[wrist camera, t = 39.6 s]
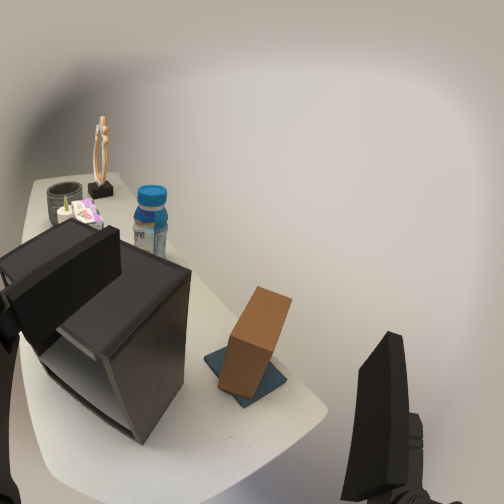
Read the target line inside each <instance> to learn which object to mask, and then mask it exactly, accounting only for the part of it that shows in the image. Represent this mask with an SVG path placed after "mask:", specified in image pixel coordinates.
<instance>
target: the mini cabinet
mask: <svg viewBox="0 0 504 504" xmlns="http://www.w3.org/2000/svg"><path fill="white" fill-rule="evenodd" d="M98 231H100V230H98V229H96V228H94V227H92V226H90V225H87V224H85V223H83V222H81V221H79V220H77V219H75V218H73V217H71V218H69V219H67V220H65V221H63V222H61V223H60V224H58V225H56V226H54V227H52V228H50V229H48V230H46V231H45V232H43V233H41V234H39V235H38V236H36V237H34V238H32V239H31V240H29V241H27V242H25V243H24V244H22V245H20V246H19V247H17V248H15V249H14V250H12V251H11V252H9V253H7V254H6V255H4V256H3V257H1V258H0V274H1V277H2V280H3V282H4V285H5V288H6V287H7V286H9V285H10V284H12V283H13V282H14V281H16V280H17V279H19V278H20V277H21V276H23V275H26V273H27V272H29V271H30V270H31V271H32V269H33V268H35V267H36V266H38V265H39V264H41V263H44V262H46V261H49V260H52V259H53V258H55V257H56V256H58V255H60V254H61V253H63V252H64V251H66V250H68V249H69V248H71V247H72V246H74V245H76V244H77V243H79V242H81V241H82V240H84V239H86V238H87V237H89V236H91V235H93V234H94V233H96V232H98ZM120 253H121V268H122V275H120V276H119V277H118V278H116V279H115V280H114V281H113V282H111V283H110V284H109V285H108V286H107V287H105V288H104V289H103V290H102V291H100V292H99V293H98V294H97V295H96V296H94V297H93V298H92V299H91V300H89V301H88V302H87V303H86V304H85V305H84V306H82V307H81V308H80V309H79V310H78V311H76V312H75V313H74V314H73V315H72V316H71V317H69V318H68V319H67V320H66V321H65V322H64V323H63V324H61V325H60V326H59V327H58V328H57V329H56V330H55V331H54V332H53V333H51V334H50V335H49V336H48V337H47V338H46V339H45V340H44V341H43V342H42V343H40V344H39V345H38V346H37V347H36V348H35V349H34V348H33V347H32V348H33V350H34V352H35V354H36V355H37V357H38V359H39V361H40V362H41V364H42V366H43V368H44V369H45V371H46V373H47V374H48V375H49V376H50V377H51V378H52V379H53V380H54V381H55V382H56V383H58V384H59V385H60V386H61V387H62V388H63V389H64V390H66V391H67V392H68V393H69V394H70V395H71V396H73V397H74V398H75V399H76V400H77V401H79V402H80V403H81V404H82V405H84V406H85V407H86V408H88V409H89V410H90V411H91V412H93V413H94V414H95V415H97V416H98V417H100V418H101V419H102V420H104V421H105V422H107V423H108V424H109V425H111V426H112V427H114V428H115V429H117V430H118V431H120V432H121V433H123V434H125V435H126V436H128V437H129V438H131V439H133V440H134V441H136V442H137V443H139V444H141V445H143V444H144V442H145V441H146V439H147V438H148V436H149V435H150V433H151V432H152V430H153V429H154V427H155V426H156V424H157V423H158V421H159V420H160V418H161V417H162V415H163V414H164V412H165V411H166V409H167V408H168V406H169V404H170V403H171V401H172V400H173V398H174V397H175V395H176V394H177V392H178V391H179V389H180V388H181V386H182V384H183V383H184V362H185V344H186V329H187V316H188V304H189V292H190V282H191V272H192V270H189V269H187V268H185V267H182V266H180V265H177V264H175V263H173V262H170V261H168V260H166V259H163V258H161V257H159V256H156V255H154V254H152V253H149V252H147V251H145V250H142V249H140V248H138V247H136V246H133V245H131V244H129V243H127V242H124V241H122V240H120Z"/></svg>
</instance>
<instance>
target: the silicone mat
mask: <svg viewBox="0 0 504 504" xmlns="http://www.w3.org/2000/svg"><path fill="white" fill-rule="evenodd" d="M226 349H227V347H224V348H222V349H220V350H218V351H215V352H213V353H211V354H208V355H206V356H204V360H205V362H206V363H207V364H208V365H209V367H210V368H211V369H212V371H213V372H214V373H215V374H216V376H217V377H218V378H220V374H221V370H222V366H223V362H224V358H225V354H226ZM286 381H287V379H286V378H285V377H284V376H283V374H282V373H281V372H280V371H279V370H278V369H277V368H276V367H275V366H274V365H273V364H272V363H271V362H270V361H269V363H268V365H267V367H266V369H265V372H264V374H263V376H262V378H261V380H260V382H259V384H258V386H257V389H256V391H255V393H254V395H253V397H252V399H251V400H248V399H246V398H243V397H241V396H238V395H236V394H233V393H231V392H230V393H231V394H232V395H233V396H234V398H235V399H236V400H237V401H238V402H239V404H240V405H241V406H242V407H243V408H245V407H247V406H249V405H250V404H252V403H254V402H255V401H257V400H259V399H260V398H262V397H263V396H265V395H267V394H268V393H270V392H271V391H273V390H274V389H276V388H278V387H279V386H281V385H282V384H284V383H285V382H286Z"/></svg>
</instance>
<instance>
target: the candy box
mask: <svg viewBox="0 0 504 504" xmlns="http://www.w3.org/2000/svg"><path fill="white" fill-rule="evenodd" d="M71 207H72V217H73V218H75V219H77V220H79V221H81V222H83V223H85V224H87V225H90V226H92V227H94V228H96V229H98V230H101V229H103V220H102V218H101V216H100V214H99V212H98V210H97V208H96V206H95V204H94V201H93V199H92V198H90V199H83V200H78V201H72V202H71Z"/></svg>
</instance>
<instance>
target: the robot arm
mask: <svg viewBox="0 0 504 504" xmlns="http://www.w3.org/2000/svg"><path fill="white" fill-rule="evenodd" d="M120 275H122V268H121V253H120V230H119V229H117V228H115V227H112V226H110V225H108V226H107V227H105V228H103V229H101V230H100V231H98V232H96V233H94V234H93V235H91V236H89V237H87V238H86V239H84V240H82V241H81V242H79V243H77V244H76V245H74V246H72V247H71V248H69V249H68V250H66V251H64V252H63V253H61V254H60V255H58V256H56V257H55V258H53V259H52V260H49V261H46V262H44V263H41V264H39V265H38V266H36V267H35V268H33V269H32V271H31V270H30V271H29V272H27V273H26V275H23V276H21V277H20V278H19V279H17V280H16V281H14V282H13V283H12V284H10V285H9V286H7V287H6V288H5V289H3V290H2V291H0V504H21V499H20V494H19V490H18V487H17V485H16V484H15V482H14V481H13V479H12V477H11V474H10V462H9V410H10V398H11V388H12V380H13V373H14V366H15V360H16V355H17V349H18V345H19V340H20V336H19V332H20V331H22V333H23V335H24V337H25V339H26V340H27V342H28V343H29V344H30V345H31V346H32V347H33V348H34V349H35V348H36V347H37V346H38V345H39V344H40V343H42V342H43V341H44V340H45V339H46V338H47V337H48V336H49V335H50V334H51V333H53V332H54V331H55V330H56V329H57V328H58V327H59V326H60V325H61V324H63V323H64V322H65V321H66V320H67V319H68V318H69V317H71V316H72V315H73V314H74V313H75V312H76V311H78V310H79V309H80V308H81V307H82V306H84V305H85V304H86V303H87V302H88V301H89V300H91V299H92V298H93V297H94V296H96V295H97V294H98V293H99V292H100V291H102V290H103V289H104V288H105V287H107V286H108V285H109V284H110V283H111V282H113V281H114V280H115V279H116V278H118V277H119V276H120ZM408 399H409V398H408V384H407V371H406V362H405V353H404V347H403V339H402V335H398V334H395V333H392V332H389V331H387V333H386V334H385V336H384V337H383V339H382V340H381V342H380V343H379V344H378V346H377V347H376V348H375V349H374V351H373V352H372V353H371V355H370V356H369V357H368V359H367V360H366V361H365V362H364V364H363V365H362V366H361V367H360V369H359V374H358V388H357V399H356V410H355V418H354V426H353V435H352V441H351V447H350V454H349V459H348V466H347V470H346V476H345V480H344V485H343V490H342V494H341V499H340V500H344V501H353V502H359V501H363V500H366V499H368V500H367V504H442V503H438V502H436V501H433V500H431V499H430V496H429V494H428V493H427V491H425V490H424V489H423V487H422V476H423V450H422V448H423V440H422V438H423V425H422V422H421V420H420V417H419V415H418V414H415V413H410V412H409V400H408ZM450 504H462V503H461V502H458V501H456V502H452V503H450Z"/></svg>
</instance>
